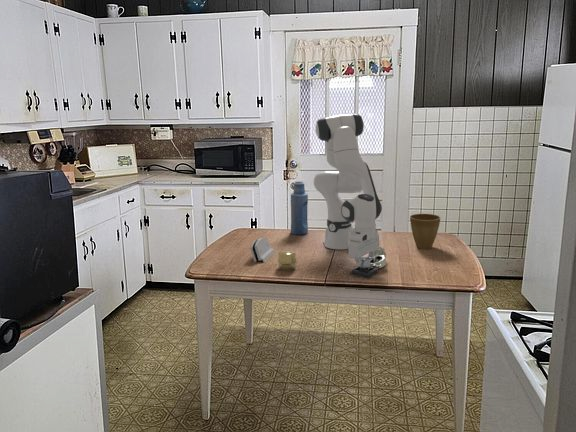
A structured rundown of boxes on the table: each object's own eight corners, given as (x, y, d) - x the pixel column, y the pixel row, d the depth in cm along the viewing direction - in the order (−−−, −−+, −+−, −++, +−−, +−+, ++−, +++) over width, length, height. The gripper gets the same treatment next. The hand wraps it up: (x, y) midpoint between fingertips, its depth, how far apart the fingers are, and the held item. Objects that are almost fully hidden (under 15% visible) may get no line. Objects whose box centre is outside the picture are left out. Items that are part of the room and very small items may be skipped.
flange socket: (360, 268, 218) (360, 264, 218) (378, 273, 212) (378, 268, 212) (349, 274, 211) (350, 269, 211) (368, 279, 206) (368, 274, 205)
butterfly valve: (385, 272, 213) (390, 257, 228) (371, 231, 209) (377, 218, 224) (366, 276, 216) (372, 260, 232) (352, 235, 212) (359, 222, 228)
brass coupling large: (286, 263, 227) (285, 249, 225) (299, 267, 222) (299, 252, 220) (274, 268, 221) (274, 253, 219) (288, 272, 216) (288, 257, 214)
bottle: (296, 229, 285) (295, 179, 278) (311, 231, 280) (310, 180, 273) (287, 233, 277) (286, 181, 270) (302, 235, 272) (302, 183, 265)
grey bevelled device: (264, 262, 229) (256, 243, 227) (255, 265, 230) (248, 245, 229) (275, 252, 244) (268, 233, 243) (266, 254, 246) (259, 236, 245)
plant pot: (436, 243, 254) (438, 213, 250) (440, 252, 240) (442, 220, 236) (407, 242, 257) (408, 212, 253) (409, 250, 243) (410, 219, 239)
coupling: (362, 268, 215) (362, 255, 214) (373, 271, 212) (373, 258, 211) (355, 272, 211) (355, 259, 210) (366, 274, 208) (366, 261, 206)
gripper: (370, 226, 217) (370, 255, 221) (346, 236, 202) (345, 268, 205) (383, 228, 213) (382, 258, 217) (359, 239, 198) (358, 271, 201)
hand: (364, 263), depth 211 cm, fingers open, 8 cm apart
